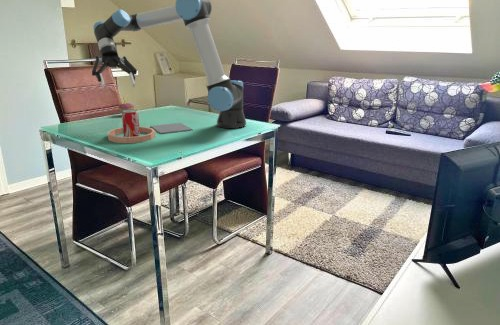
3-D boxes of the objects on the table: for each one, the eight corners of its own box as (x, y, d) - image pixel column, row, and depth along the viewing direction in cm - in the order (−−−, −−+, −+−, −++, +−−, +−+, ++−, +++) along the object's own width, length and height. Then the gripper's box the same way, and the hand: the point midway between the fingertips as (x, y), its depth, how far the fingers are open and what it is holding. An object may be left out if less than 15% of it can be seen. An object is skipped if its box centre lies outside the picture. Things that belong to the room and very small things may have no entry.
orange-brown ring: (161, 132, 179) (160, 127, 178) (144, 144, 160) (144, 138, 160) (120, 130, 181) (120, 125, 181) (99, 141, 163) (99, 136, 162)
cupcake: (130, 117, 210) (128, 95, 206) (116, 116, 212) (114, 95, 208) (137, 114, 218) (135, 93, 214) (123, 113, 219) (122, 92, 216)
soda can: (131, 140, 166) (129, 113, 162) (120, 137, 170) (117, 111, 166) (143, 136, 172) (141, 110, 168) (132, 134, 175) (130, 108, 172)
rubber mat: (180, 123, 198) (180, 122, 198) (192, 130, 185) (192, 129, 185) (150, 127, 190) (150, 125, 190) (160, 134, 177) (160, 132, 177)
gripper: (133, 55, 190) (144, 89, 183) (79, 55, 177) (89, 92, 170) (135, 44, 185) (147, 79, 178) (80, 44, 172) (90, 81, 165)
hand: (119, 86), depth 174 cm, fingers open, 13 cm apart
